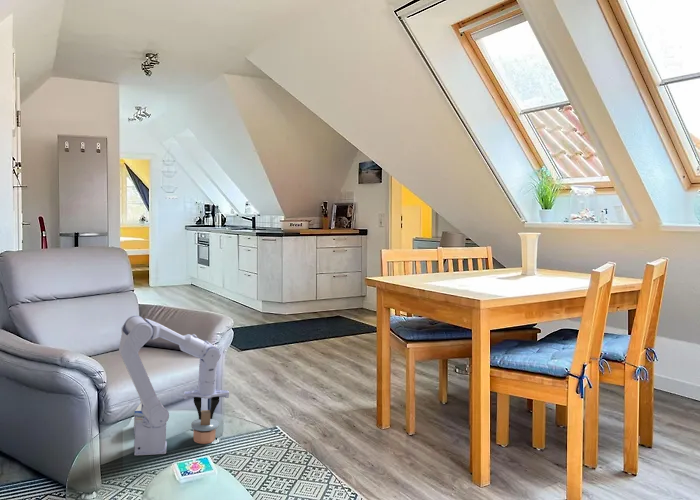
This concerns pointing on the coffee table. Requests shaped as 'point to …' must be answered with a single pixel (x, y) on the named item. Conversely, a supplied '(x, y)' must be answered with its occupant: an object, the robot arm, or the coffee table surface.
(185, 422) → the coffee table surface
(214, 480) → the coffee table surface
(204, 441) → the bowl
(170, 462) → the coffee table surface
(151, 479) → the coffee table surface
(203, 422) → the lid
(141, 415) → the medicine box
